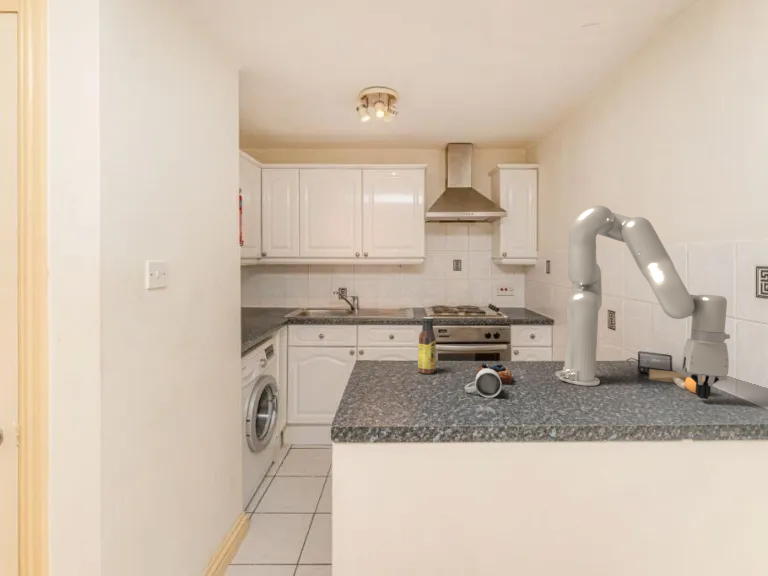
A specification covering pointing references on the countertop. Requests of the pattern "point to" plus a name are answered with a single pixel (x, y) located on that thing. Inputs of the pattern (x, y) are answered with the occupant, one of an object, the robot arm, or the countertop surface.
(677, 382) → the pin
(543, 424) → the countertop surface
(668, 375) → the wall
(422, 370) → the sauce bottle
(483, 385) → the ceramic mug
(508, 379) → the pastry
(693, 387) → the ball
